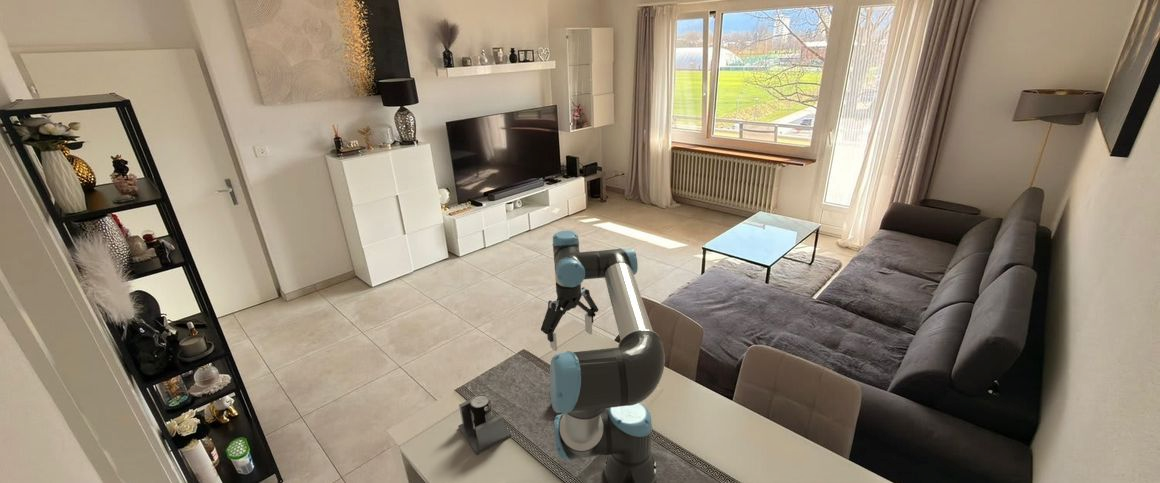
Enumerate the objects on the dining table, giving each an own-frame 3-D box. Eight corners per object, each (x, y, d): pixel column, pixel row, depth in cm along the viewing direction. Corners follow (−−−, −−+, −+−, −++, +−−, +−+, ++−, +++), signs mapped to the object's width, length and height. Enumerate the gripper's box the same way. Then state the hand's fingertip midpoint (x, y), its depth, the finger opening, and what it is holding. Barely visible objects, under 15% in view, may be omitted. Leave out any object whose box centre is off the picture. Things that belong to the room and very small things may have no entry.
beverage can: (472, 426, 157) (467, 397, 152) (491, 419, 159) (487, 390, 155) (476, 440, 151) (471, 410, 147) (497, 432, 154) (492, 403, 149)
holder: (510, 436, 154) (508, 414, 150) (476, 454, 147) (472, 432, 144) (491, 411, 164) (488, 390, 160) (458, 428, 158) (454, 406, 154)
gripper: (593, 264, 152) (595, 321, 161) (525, 289, 139) (531, 350, 147) (608, 273, 146) (609, 331, 155) (539, 299, 133) (544, 361, 142)
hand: (571, 340), depth 151 cm, fingers open, 13 cm apart
